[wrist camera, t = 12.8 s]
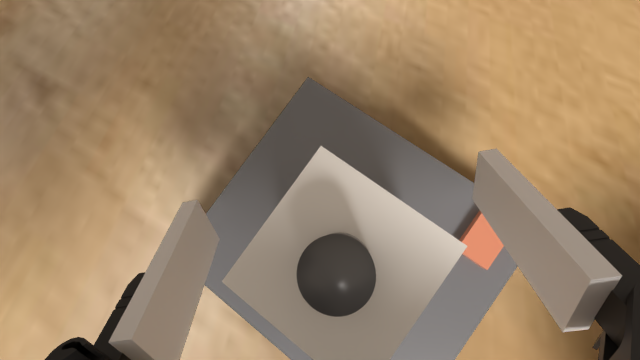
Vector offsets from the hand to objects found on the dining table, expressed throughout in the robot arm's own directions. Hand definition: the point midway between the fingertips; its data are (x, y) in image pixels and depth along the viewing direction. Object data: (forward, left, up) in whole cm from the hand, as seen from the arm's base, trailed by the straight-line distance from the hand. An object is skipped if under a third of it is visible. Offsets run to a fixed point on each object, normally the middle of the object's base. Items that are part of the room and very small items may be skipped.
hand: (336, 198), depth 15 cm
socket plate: (+2, -2, -6) cm, 7 cm away
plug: (+2, -2, -6) cm, 7 cm away
